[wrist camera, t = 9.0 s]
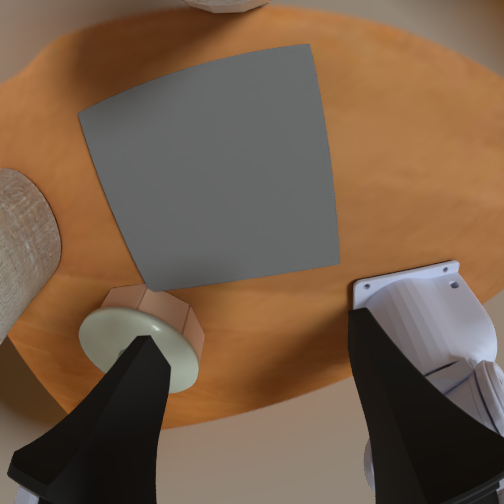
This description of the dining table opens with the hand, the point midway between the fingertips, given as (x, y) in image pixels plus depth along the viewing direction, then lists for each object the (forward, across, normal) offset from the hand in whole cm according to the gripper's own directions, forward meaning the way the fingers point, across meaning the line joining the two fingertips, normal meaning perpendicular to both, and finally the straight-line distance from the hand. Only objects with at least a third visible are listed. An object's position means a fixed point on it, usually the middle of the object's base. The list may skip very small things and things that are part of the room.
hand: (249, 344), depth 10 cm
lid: (+6, +11, +8) cm, 15 cm away
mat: (+10, +2, -3) cm, 11 cm away
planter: (+10, +20, -4) cm, 23 cm away
